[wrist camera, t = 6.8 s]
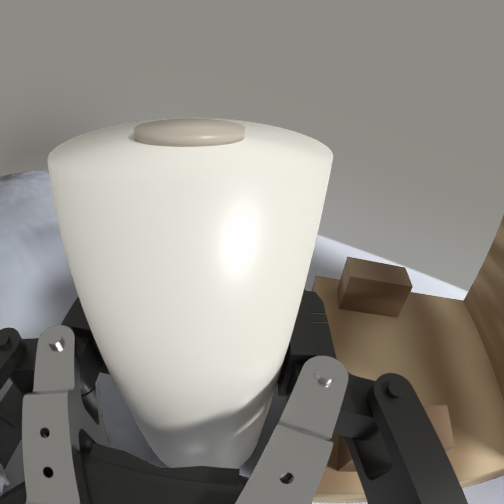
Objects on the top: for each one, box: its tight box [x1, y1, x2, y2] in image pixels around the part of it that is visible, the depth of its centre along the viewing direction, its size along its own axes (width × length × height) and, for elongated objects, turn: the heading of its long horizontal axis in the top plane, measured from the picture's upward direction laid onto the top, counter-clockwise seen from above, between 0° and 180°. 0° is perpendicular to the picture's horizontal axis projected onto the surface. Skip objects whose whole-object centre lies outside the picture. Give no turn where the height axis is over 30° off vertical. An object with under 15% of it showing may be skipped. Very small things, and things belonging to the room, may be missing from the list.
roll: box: [48, 118, 333, 469], centre depth 9 cm, size 6×6×13 cm
